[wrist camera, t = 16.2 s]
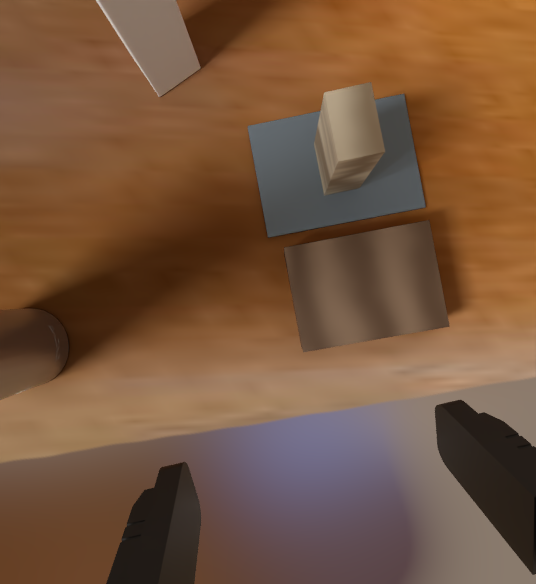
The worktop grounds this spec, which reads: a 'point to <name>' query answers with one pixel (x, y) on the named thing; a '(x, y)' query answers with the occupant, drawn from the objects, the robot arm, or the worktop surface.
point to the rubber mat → (307, 182)
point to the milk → (154, 39)
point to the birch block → (347, 138)
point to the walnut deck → (366, 286)
